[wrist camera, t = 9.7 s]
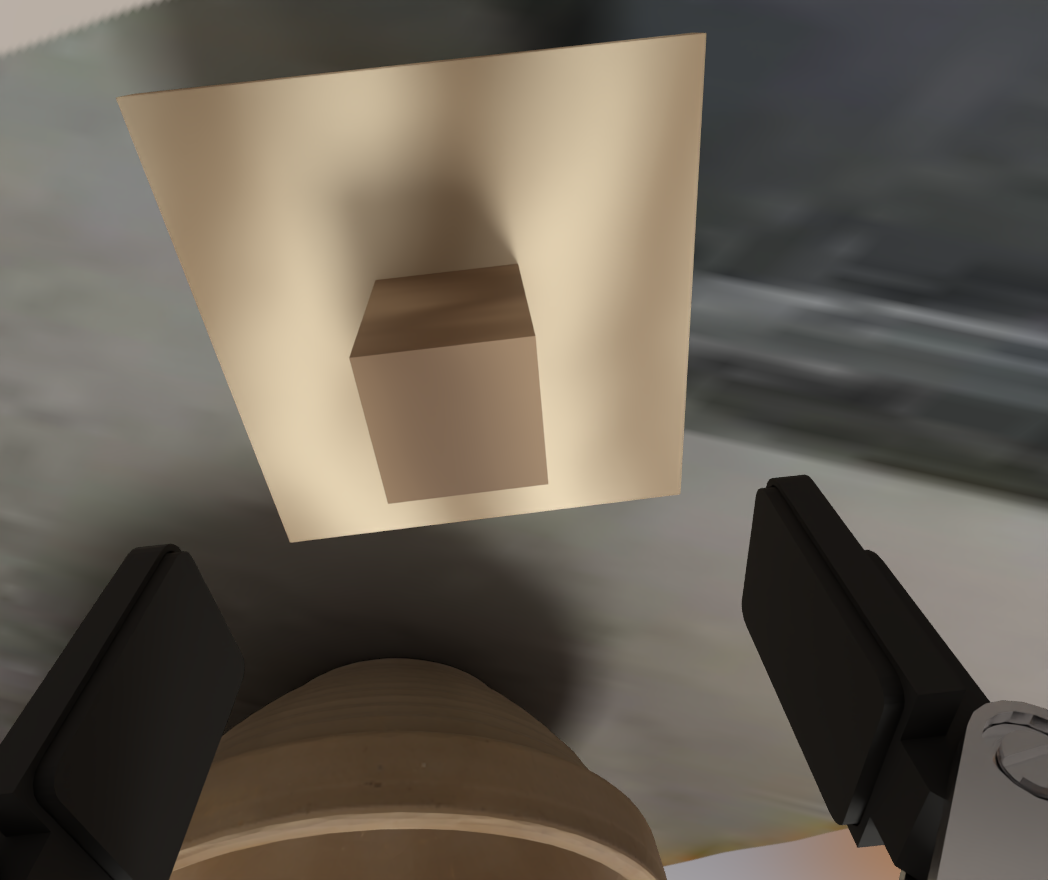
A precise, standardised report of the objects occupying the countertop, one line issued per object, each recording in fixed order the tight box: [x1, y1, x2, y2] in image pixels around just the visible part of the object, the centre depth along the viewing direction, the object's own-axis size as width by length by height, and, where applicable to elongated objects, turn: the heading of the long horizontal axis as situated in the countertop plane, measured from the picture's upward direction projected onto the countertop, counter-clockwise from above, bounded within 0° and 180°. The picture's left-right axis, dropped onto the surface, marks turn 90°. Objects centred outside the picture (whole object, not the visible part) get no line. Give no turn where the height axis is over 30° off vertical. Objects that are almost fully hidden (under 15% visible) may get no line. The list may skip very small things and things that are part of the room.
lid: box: [116, 33, 706, 543], centre depth 17 cm, size 14×14×6 cm
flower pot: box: [169, 658, 667, 880], centre depth 35 cm, size 28×28×13 cm
